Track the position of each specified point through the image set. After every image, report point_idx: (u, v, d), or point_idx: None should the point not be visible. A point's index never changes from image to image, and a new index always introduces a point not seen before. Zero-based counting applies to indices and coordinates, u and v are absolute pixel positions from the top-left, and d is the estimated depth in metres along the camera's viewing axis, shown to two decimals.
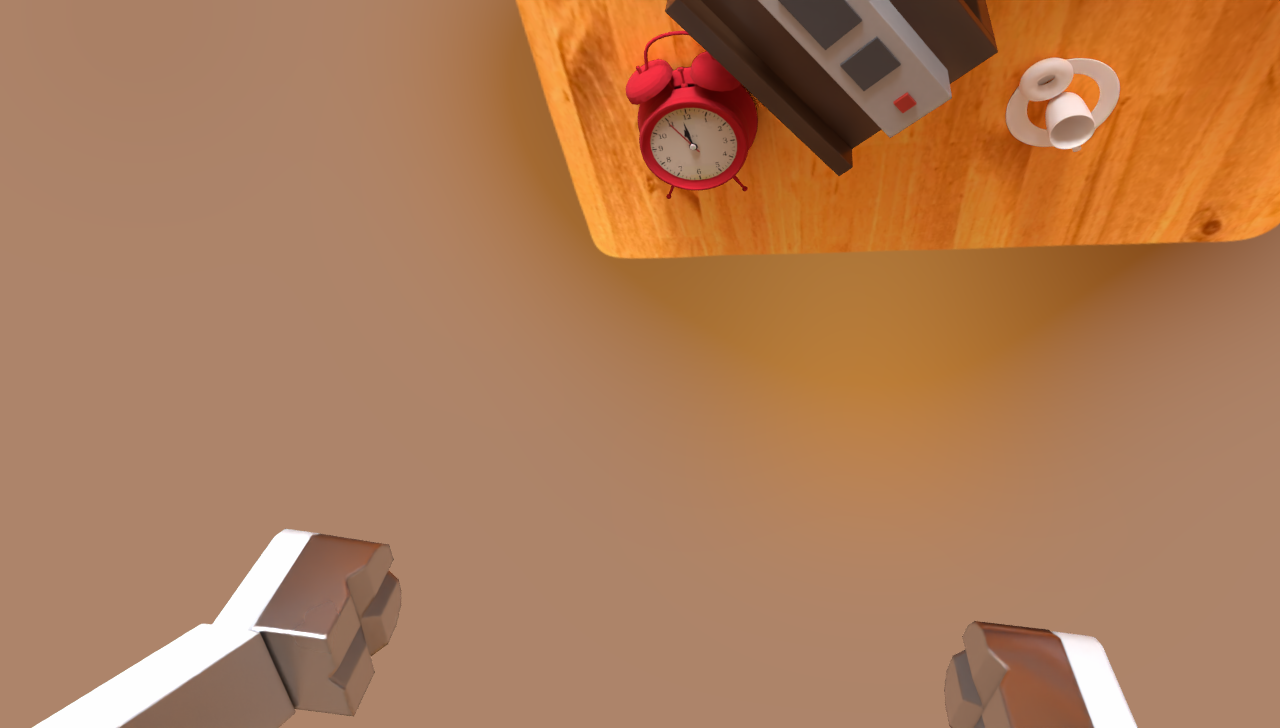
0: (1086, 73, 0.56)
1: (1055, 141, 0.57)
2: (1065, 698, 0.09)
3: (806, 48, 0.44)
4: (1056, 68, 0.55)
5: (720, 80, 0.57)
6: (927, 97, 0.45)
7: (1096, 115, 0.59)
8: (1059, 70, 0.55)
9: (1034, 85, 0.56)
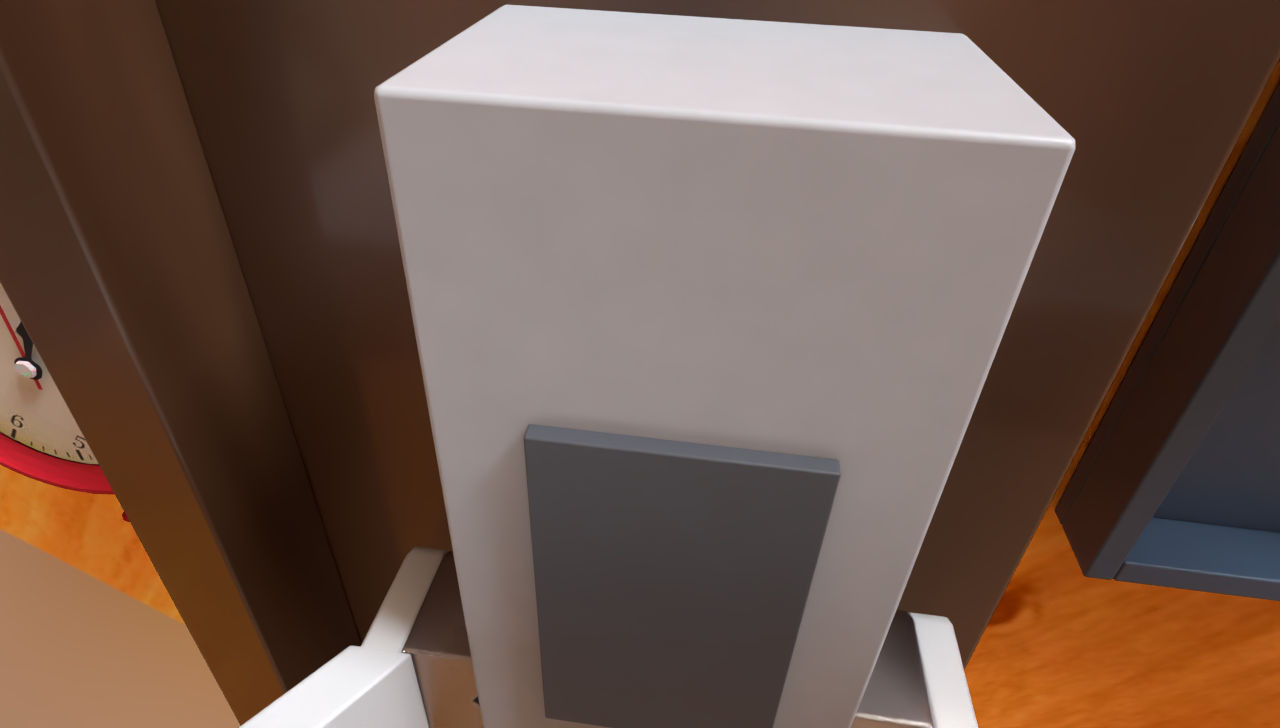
0: None
1: None
2: (906, 676, 0.09)
3: (479, 655, 0.08)
4: None
5: None
6: None
7: None
8: None
9: None
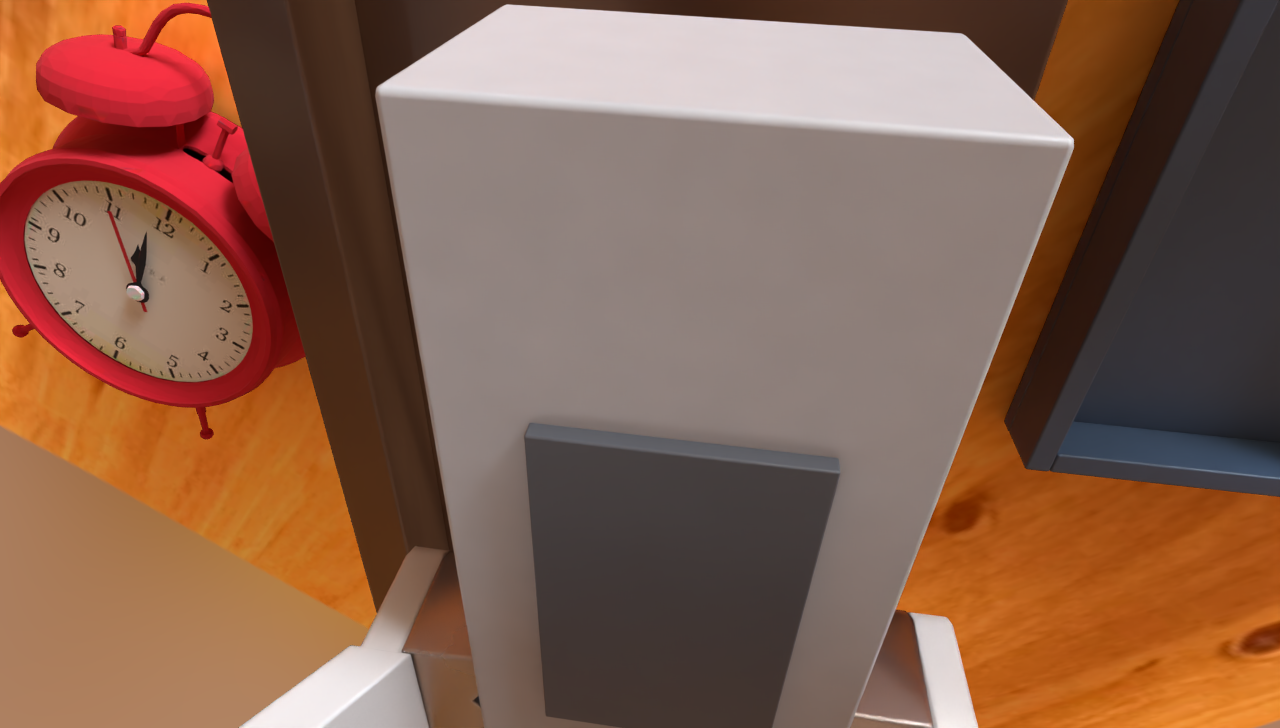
0: None
1: None
2: (905, 676, 0.09)
3: (479, 654, 0.08)
4: None
5: None
6: None
7: None
8: None
9: None
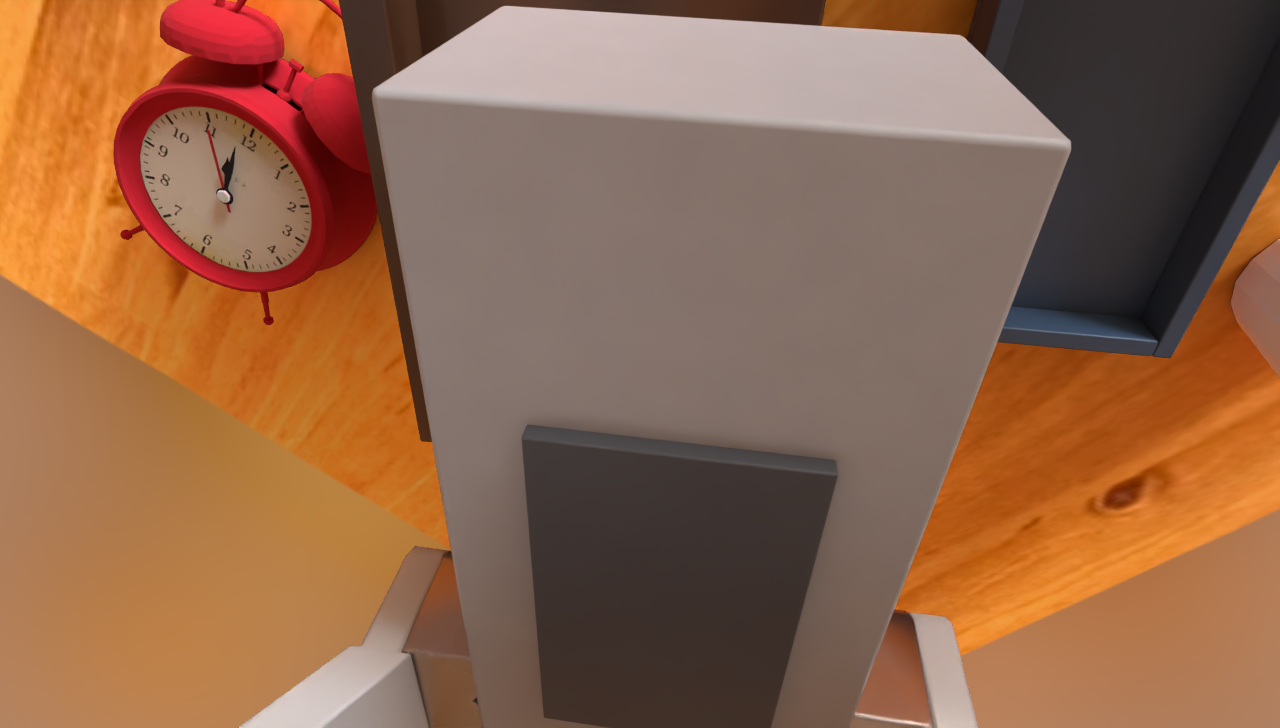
0: None
1: None
2: (906, 675, 0.09)
3: (478, 655, 0.08)
4: None
5: (346, 138, 0.29)
6: None
7: None
8: None
9: None
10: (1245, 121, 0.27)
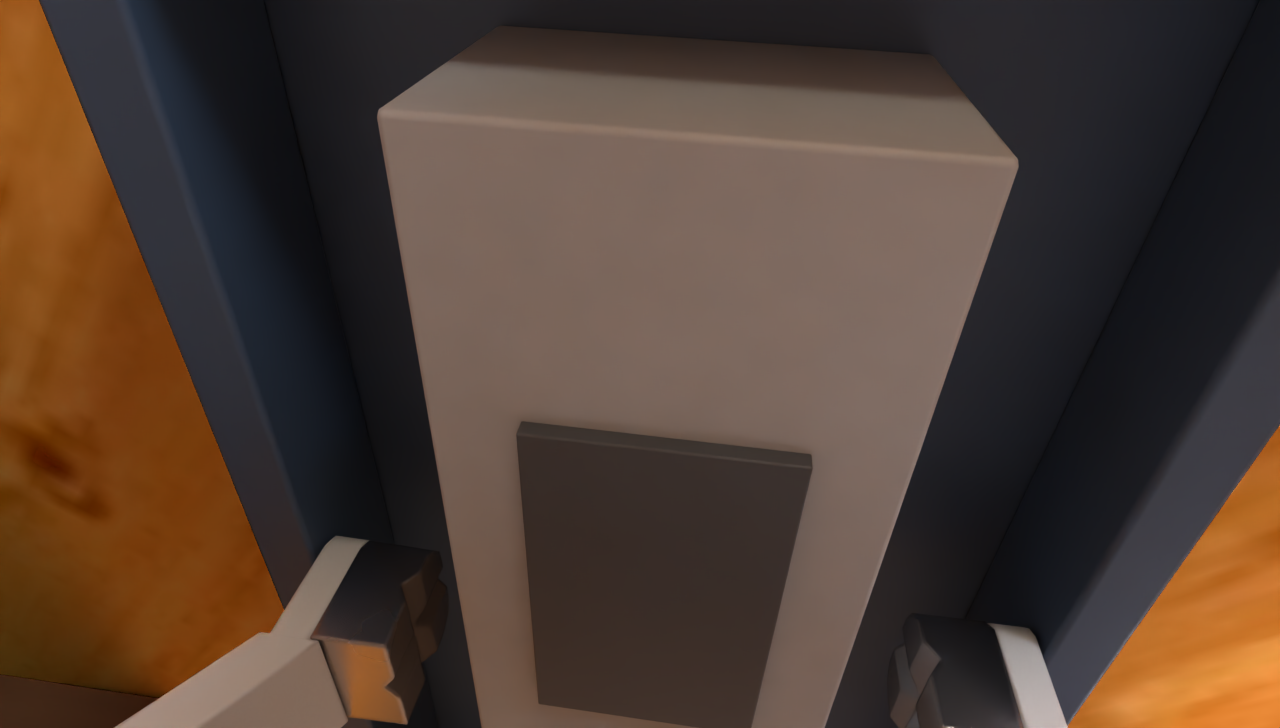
0: None
1: None
2: (994, 688, 0.09)
3: (475, 643, 0.09)
4: None
5: None
6: None
7: None
8: None
9: None
10: (984, 611, 0.11)
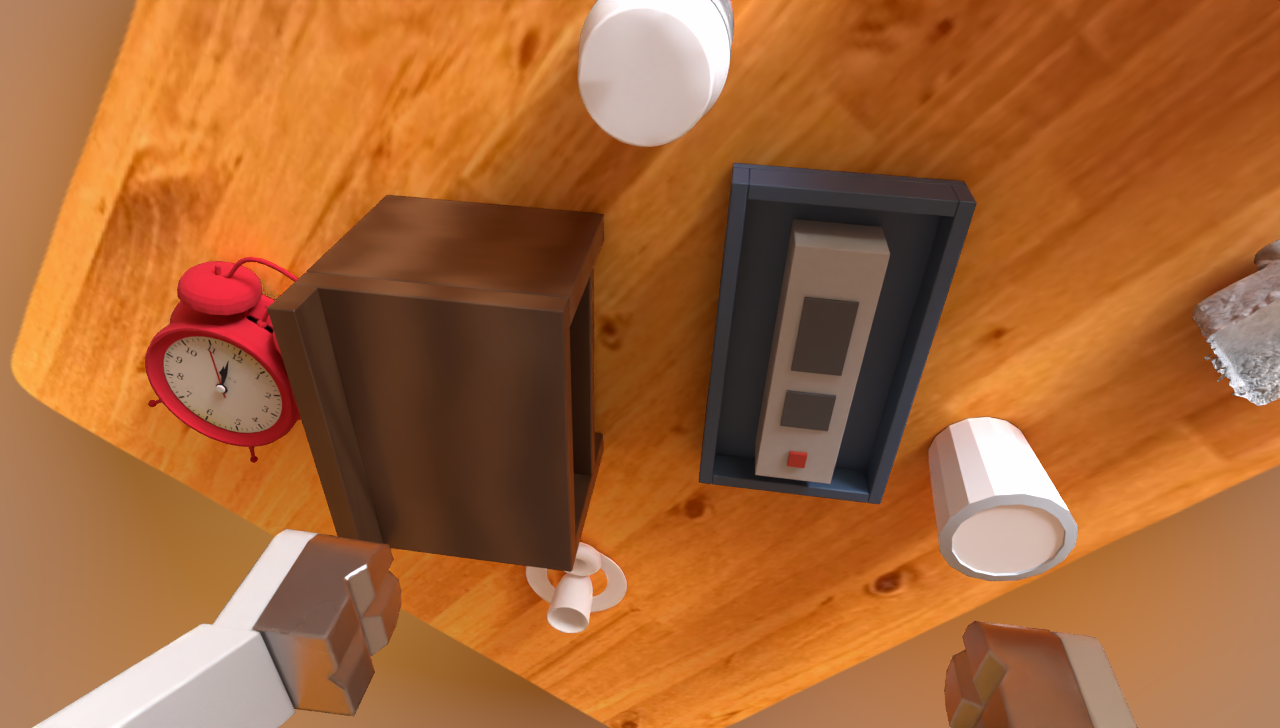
0: (608, 572, 0.56)
1: (551, 615, 0.55)
2: (1065, 698, 0.09)
3: (778, 354, 0.38)
4: (589, 560, 0.53)
5: None
6: (815, 469, 0.42)
7: (595, 603, 0.58)
8: (590, 563, 0.53)
9: None
10: (900, 362, 0.40)
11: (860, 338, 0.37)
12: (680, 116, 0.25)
